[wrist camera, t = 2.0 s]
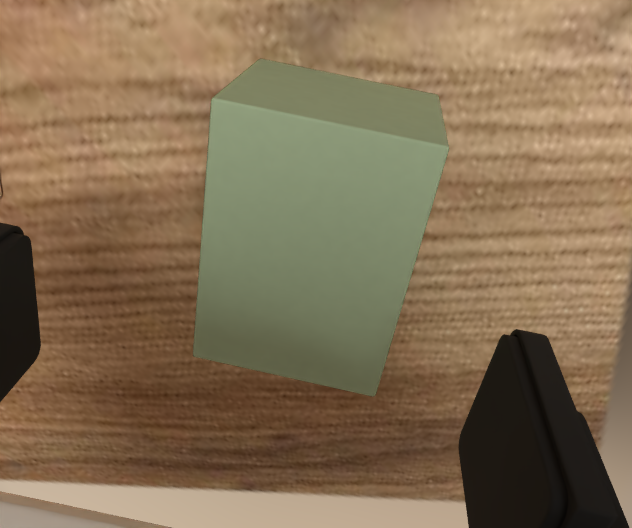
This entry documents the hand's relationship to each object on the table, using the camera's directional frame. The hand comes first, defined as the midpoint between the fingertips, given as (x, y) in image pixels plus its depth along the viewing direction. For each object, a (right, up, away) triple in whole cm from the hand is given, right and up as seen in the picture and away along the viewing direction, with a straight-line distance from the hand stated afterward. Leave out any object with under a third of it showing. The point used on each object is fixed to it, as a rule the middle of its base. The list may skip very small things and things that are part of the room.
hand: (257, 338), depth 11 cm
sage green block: (+2, +4, +6) cm, 7 cm away
